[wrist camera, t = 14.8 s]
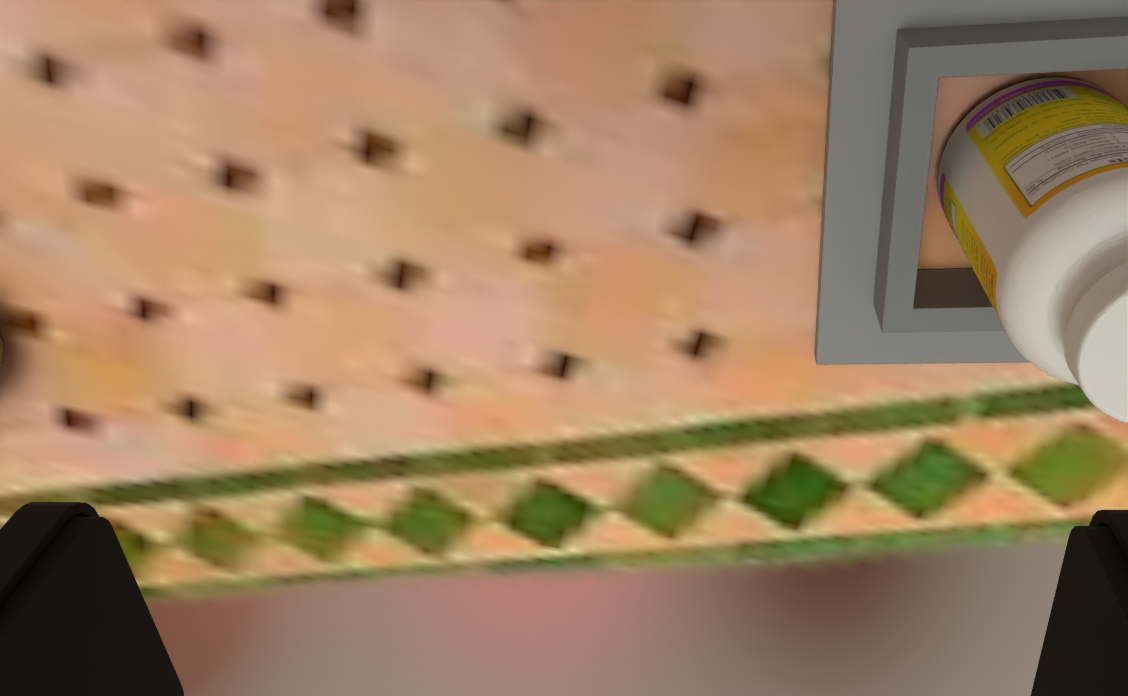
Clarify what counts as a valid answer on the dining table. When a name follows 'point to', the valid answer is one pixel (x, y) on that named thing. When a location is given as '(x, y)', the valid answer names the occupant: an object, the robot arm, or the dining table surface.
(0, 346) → the squeeze bottle
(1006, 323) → the supplement bottle
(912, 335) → the gray bottle caddy
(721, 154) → the dining table surface
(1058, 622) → the robot arm
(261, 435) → the dining table surface
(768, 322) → the dining table surface
